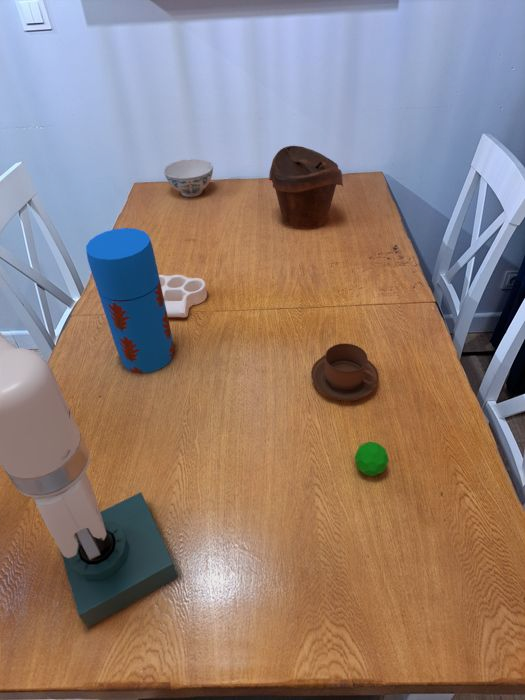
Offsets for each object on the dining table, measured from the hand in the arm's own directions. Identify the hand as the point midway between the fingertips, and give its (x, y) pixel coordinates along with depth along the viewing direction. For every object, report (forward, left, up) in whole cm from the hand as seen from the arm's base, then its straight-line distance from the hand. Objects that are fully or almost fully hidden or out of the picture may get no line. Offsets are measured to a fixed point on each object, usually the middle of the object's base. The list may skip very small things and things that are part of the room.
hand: (97, 545), depth 61 cm
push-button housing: (+1, 0, -6) cm, 6 cm away
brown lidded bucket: (+77, +68, -7) cm, 103 cm away
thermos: (+19, +38, -7) cm, 43 cm away
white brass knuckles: (+29, +53, -7) cm, 61 cm away
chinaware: (+58, +104, -7) cm, 120 cm away
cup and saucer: (+47, +11, -7) cm, 49 cm away
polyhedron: (+39, -6, -7) cm, 40 cm away
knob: (0, 0, -2) cm, 2 cm away
